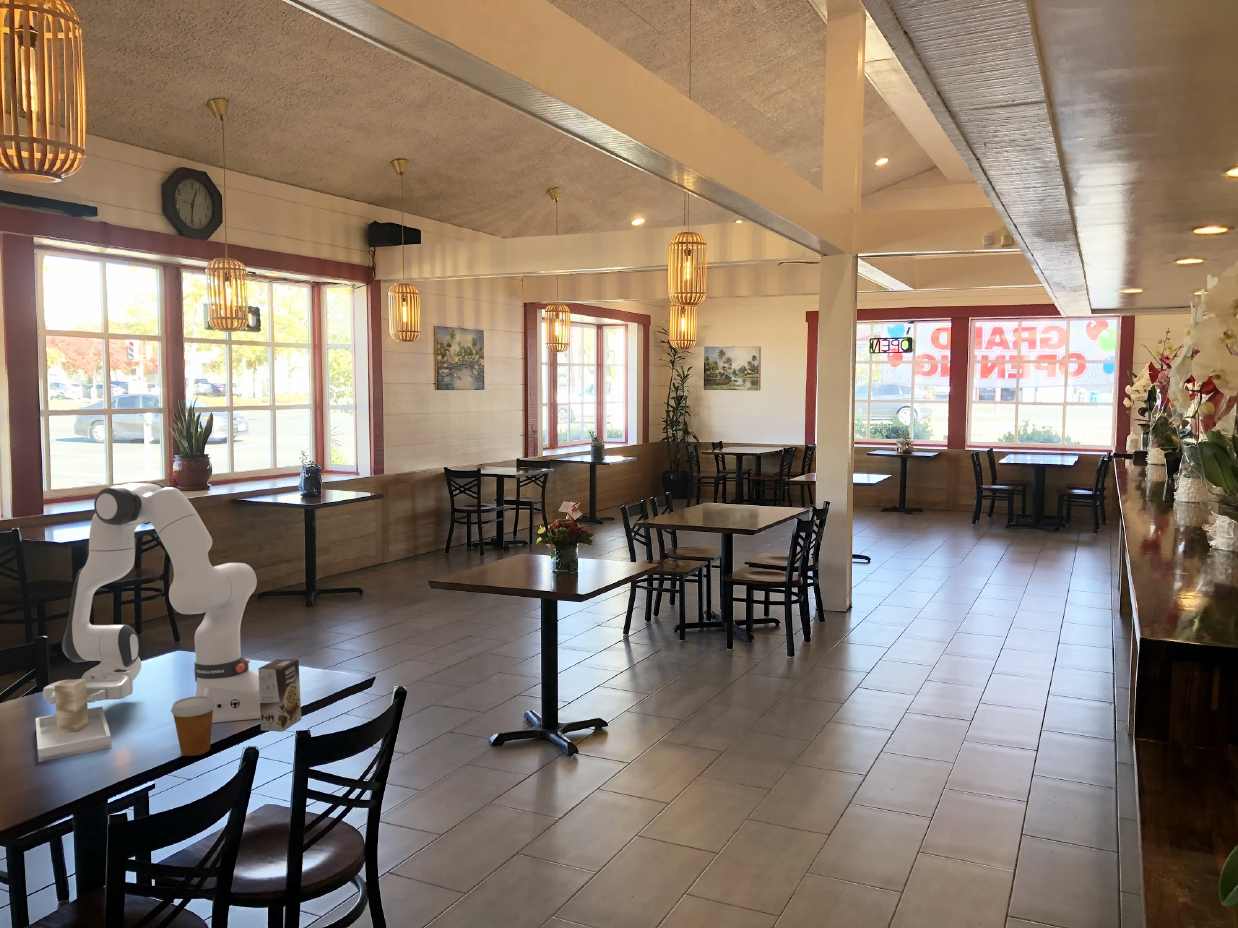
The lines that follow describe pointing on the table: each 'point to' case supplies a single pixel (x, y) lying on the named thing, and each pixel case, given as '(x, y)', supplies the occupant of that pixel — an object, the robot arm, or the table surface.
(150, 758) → the table surface
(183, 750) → the disposable coffee cup
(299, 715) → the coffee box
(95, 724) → the tray
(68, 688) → the ash block
